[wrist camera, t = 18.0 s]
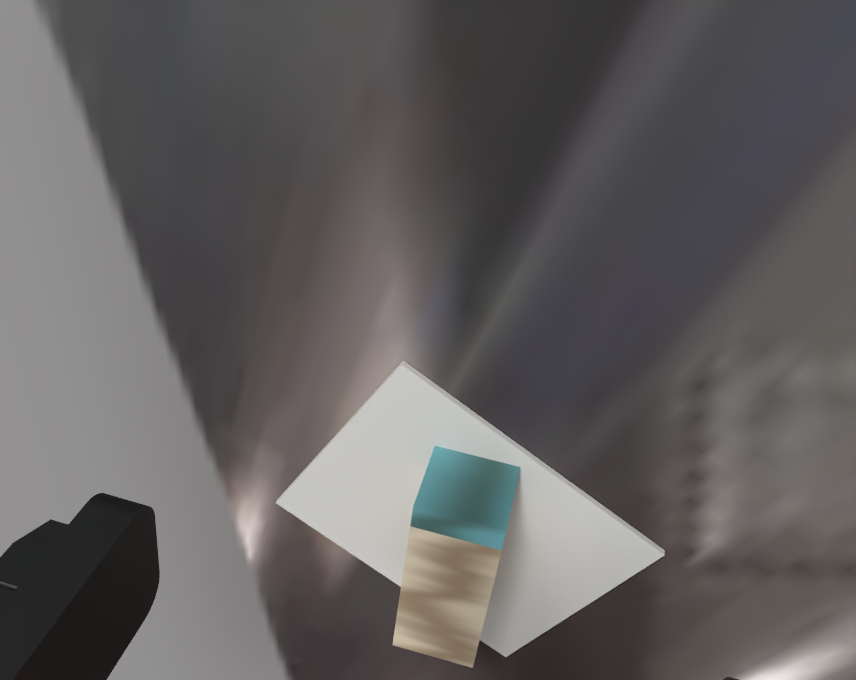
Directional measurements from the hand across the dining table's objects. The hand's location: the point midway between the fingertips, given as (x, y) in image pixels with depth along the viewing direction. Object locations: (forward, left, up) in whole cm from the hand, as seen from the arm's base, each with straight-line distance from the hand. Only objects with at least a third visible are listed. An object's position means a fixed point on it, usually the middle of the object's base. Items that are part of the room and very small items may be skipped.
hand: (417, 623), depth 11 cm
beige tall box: (-15, +30, -25) cm, 42 cm away
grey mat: (-12, +25, -28) cm, 39 cm away
